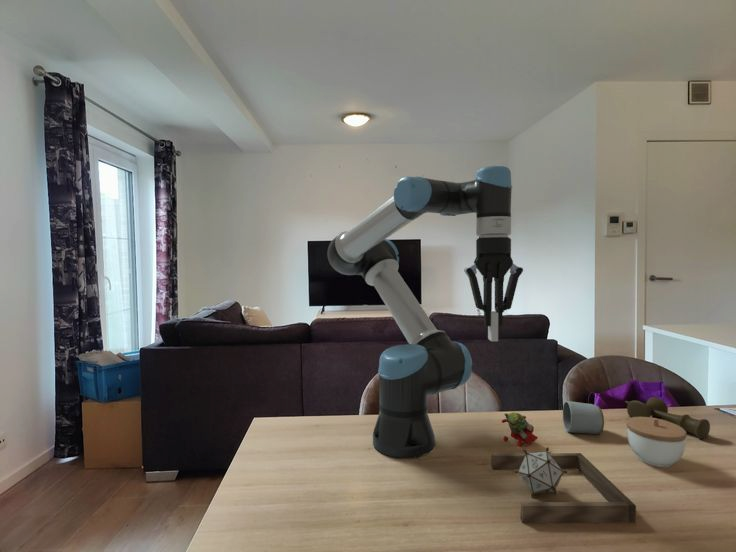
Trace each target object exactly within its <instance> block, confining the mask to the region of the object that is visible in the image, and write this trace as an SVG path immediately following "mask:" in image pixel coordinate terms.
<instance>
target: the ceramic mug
mask: <svg viewBox="0 0 736 552" xmlns="http://www.w3.org/2000/svg"><path fill="white" fill-rule="evenodd" d="M562 421H563V427H564V429H565V431H566V432H568V433H577V434H591V435H592V434H593V435H594V434H595V435H596V434H597V435H599V434H601V433H602V432H603V431H604V428H605V417H604V413H603V410H602V409H601V407H600V406H598V405H596V404H594V403H593V404H592V403H584V402H577V401H571V400H566V401H565V402H564V403H563V407H562Z"/></svg>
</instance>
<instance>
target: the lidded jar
mask: <svg viewBox="0 0 736 552" xmlns="http://www.w3.org/2000/svg"><path fill="white" fill-rule="evenodd" d="M626 436H627V441H628V444H629V446H630V448H631V450H632V452H633V453H634V454H635V455H636V456H637V458H638V460H640V461H642V462H643V463H645V464H647V465H650V466H653V467H657V468H669V467H671V466H672V465H674V464H676V463H678V461H679V460H681V458H682V457H683V455H684V452H685V448H686V440H687V439H686V438H687V431H685V430H684V429H683V428H682V427H680V426H678V425H676V424H674V423H671V422H669V421H667V420H665V419H662V418H658V417H651V416H650V417H632V418H630V417H629V418H628V419H627V420H626Z"/></svg>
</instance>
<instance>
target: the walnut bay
mask: <svg viewBox="0 0 736 552" xmlns="http://www.w3.org/2000/svg"><path fill="white" fill-rule="evenodd" d="M548 453H549V454H550V455H551V457H552V458H553V459H554V460H555V462H556V463H557V464H558V465H559V467H560V468H561V469H562V470H577V471H578V472H579V473H580V474H581V475H582V476H583V477H584V478H585V479H586V480H587V481H588V482H589V483H590V484H591V485H592V486H593V487H594V488H595V490H597V492H598V493H600V495H602V496H603V498H604V499H605V500H606V501H575V502H574V501H557V502H555V501H550V502H549V501H543V502H542V501H540V502H539V501H538V502H537V501H536V502H533V501H532V502H531V501H530V502H529V501H528V502H527V501H525V502H524V501H522V502H520V518H519V519H520V521H521V522H522V523H523V524H563V523H564V524H565V523H566V524H570V523H572V524H573V523H574V524H584V523H585V524H588V523H594V524H596V523H597V524H599V523H601V524H604V523H605V524H606V523H610V524H611V523H616V524H618V523H633V524H634V523H636V521H637V520H636V514H637V513H636V512H637V511H636V509H637V506H636V504H635V503H634V502H633V501H632V500H630V498H629V497H628V496H627V495H625V494H624V493H623V492H622V491H621V490H620V489H619V488H618V487H617V486H616V485H615V484H614V483H613V482H612V481H611V480H610V479H608V477H607V476H605V475H604V473H602V472H601V471H600V470H599V469H598V468H597V467H596V466H595V465H594V464H593V463H592V462H591V461H590V460H589V459H588V458H586V457H585V455H584V454H582V453H581V452H573V453H572V452H570V453H569V452H564V453H563V452H560V453H559V452H558V453H557V452H554V453H551V452H548ZM525 454H526V453H524V452H523V453H491V454H490V455H491V459H490V461H491V462H490V463H491V464H490V466H491V469H492V470H496V471H497V470H498V471H500V470H506V471H507V470H511V471H512V470H514V471H518V469H519V467H520V465H521V463H522V461H523V459H524V456H525Z"/></svg>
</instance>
